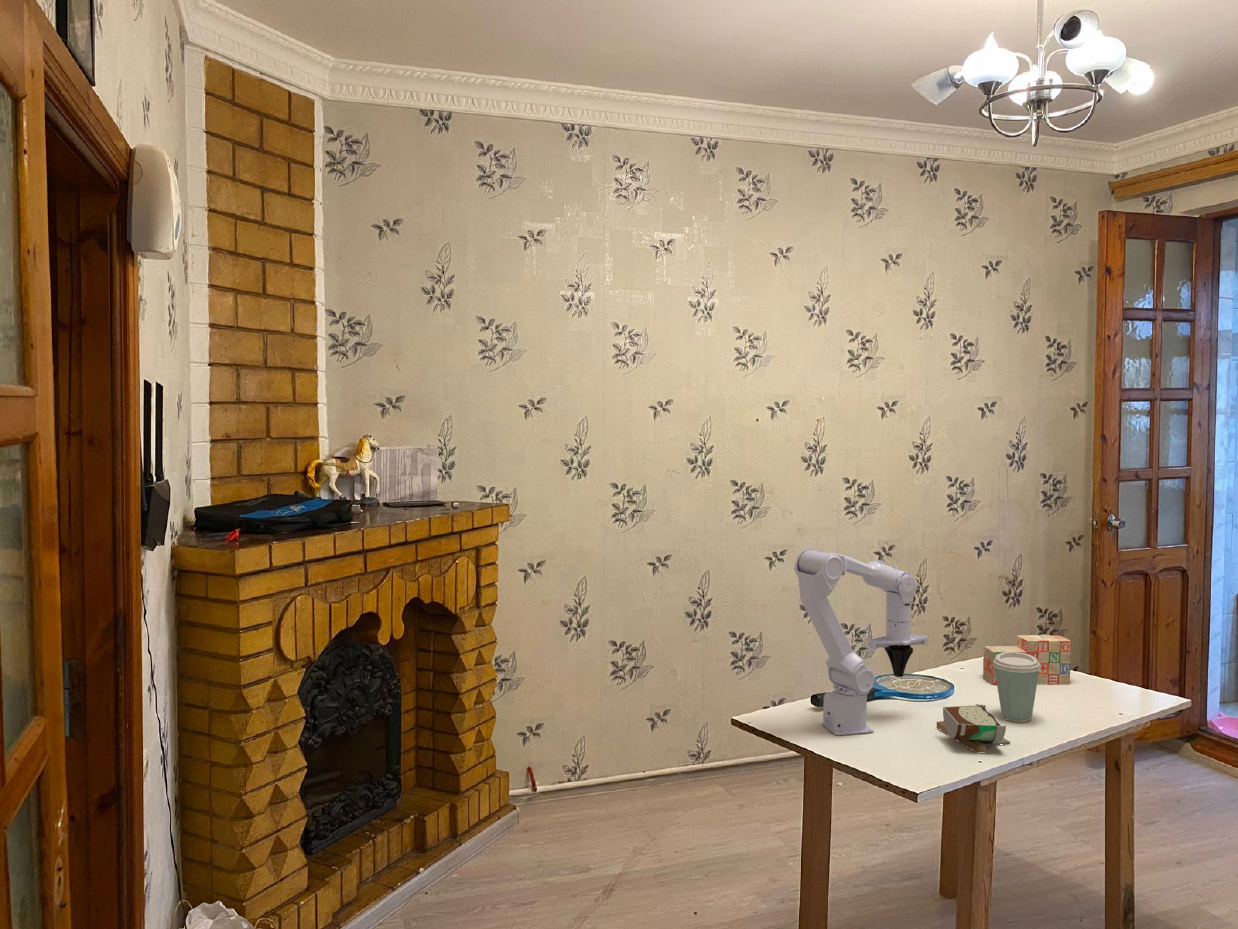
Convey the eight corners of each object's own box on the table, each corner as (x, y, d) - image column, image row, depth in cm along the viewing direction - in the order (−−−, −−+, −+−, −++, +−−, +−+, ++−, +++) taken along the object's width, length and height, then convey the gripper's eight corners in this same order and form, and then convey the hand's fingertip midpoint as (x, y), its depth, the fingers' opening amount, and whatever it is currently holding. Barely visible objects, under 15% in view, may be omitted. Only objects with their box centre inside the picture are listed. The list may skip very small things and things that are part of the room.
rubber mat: (978, 747, 201) (978, 744, 201) (947, 728, 213) (947, 726, 213) (1010, 744, 203) (1010, 742, 203) (978, 726, 214) (978, 723, 214)
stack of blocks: (992, 686, 246) (993, 640, 245) (982, 679, 252) (983, 635, 251) (1070, 685, 247) (1071, 640, 246) (1058, 678, 253) (1060, 634, 252)
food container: (959, 754, 197) (1005, 754, 197) (960, 727, 196) (1007, 727, 196) (939, 729, 209) (983, 729, 209) (940, 704, 209) (984, 704, 208)
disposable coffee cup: (1044, 727, 213) (1046, 664, 213) (995, 724, 216) (996, 661, 215) (1034, 712, 224) (1035, 652, 223) (987, 709, 226) (989, 650, 225)
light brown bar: (977, 753, 198) (977, 746, 198) (936, 728, 213) (936, 721, 213) (985, 752, 198) (985, 745, 198) (944, 727, 214) (944, 721, 214)
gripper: (879, 626, 213) (878, 683, 214) (935, 621, 216) (934, 678, 217) (864, 619, 220) (864, 674, 221) (919, 615, 223) (919, 669, 224)
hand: (898, 675), depth 219 cm, fingers closed
